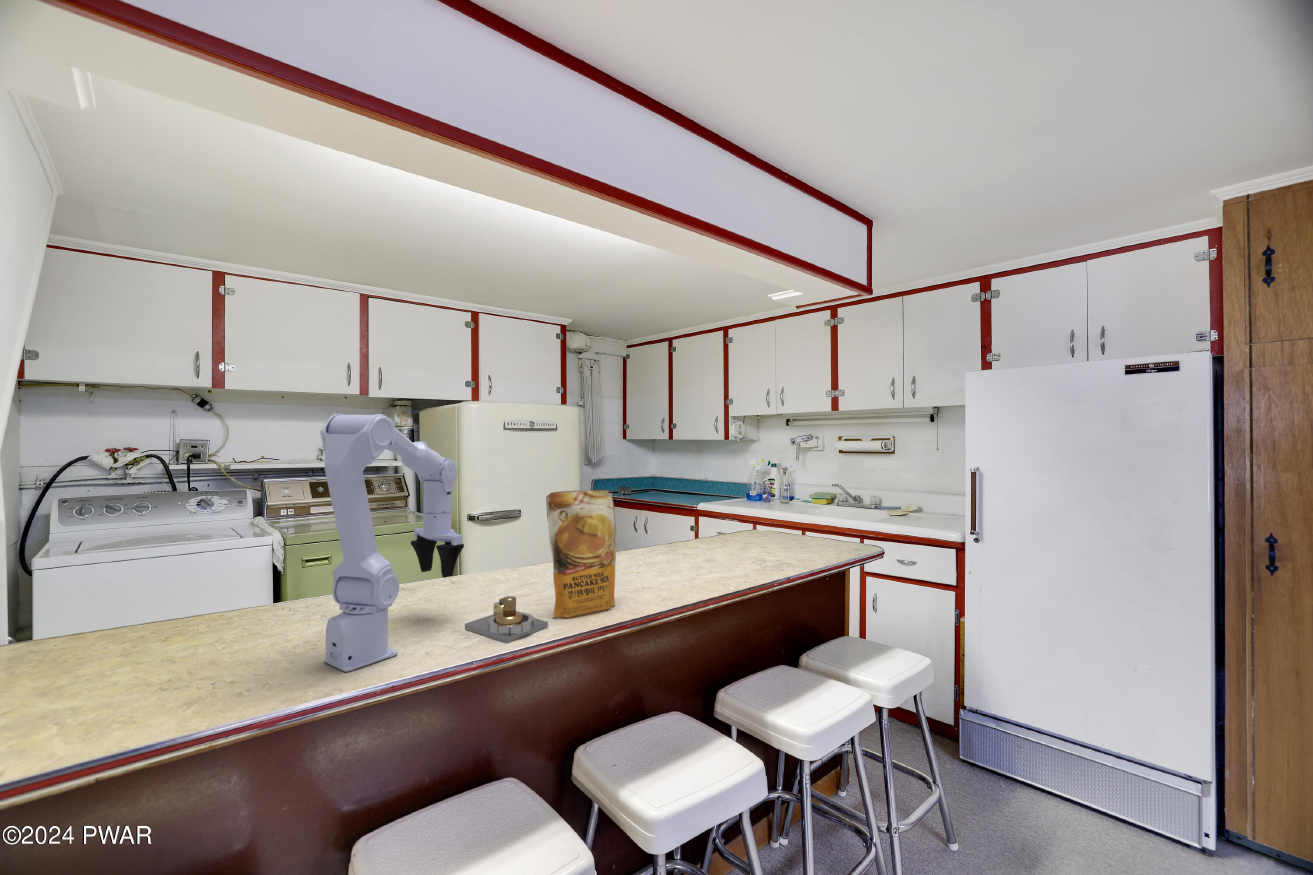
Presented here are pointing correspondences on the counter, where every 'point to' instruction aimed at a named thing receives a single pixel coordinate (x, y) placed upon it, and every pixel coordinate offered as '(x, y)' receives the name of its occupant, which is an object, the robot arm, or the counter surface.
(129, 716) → the counter surface
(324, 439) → the robot arm
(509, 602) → the gear
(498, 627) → the carrier
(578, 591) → the pancake mix bag
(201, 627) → the counter surface
